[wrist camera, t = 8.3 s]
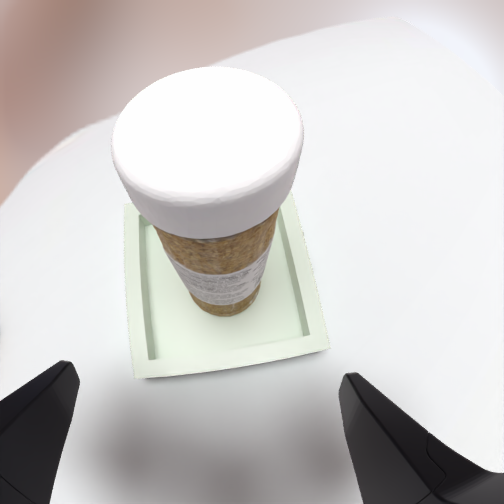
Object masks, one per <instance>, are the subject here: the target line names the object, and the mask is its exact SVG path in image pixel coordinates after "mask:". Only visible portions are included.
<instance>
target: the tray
mask: <svg viewBox="0 0 504 504" xmlns="http://www.w3.org/2000/svg"><path fill="white" fill-rule="evenodd" d="M124 268H125V291H126V307H127V319H128V330H129V340H130V349H131V358H132V365H133V372H134V379H141V378H154V377H166V376H176V375H185V374H194V373H202V372H210V371H217V370H224V369H230V368H237V367H243V366H249V365H255V364H260V363H266V362H271V361H276V360H281V359H286V358H291V357H296V356H300V355H305V354H309V353H313V352H318V351H322V350H326V349H330V343H329V338H328V334H327V329H326V325H325V320H324V316H323V311H322V307H321V303H320V298H319V294H318V290H317V286H316V282H315V278H314V274H313V270H312V266H311V262H310V258H309V254H308V250H307V246H306V242H305V239H304V235H303V231H302V227H301V224H300V220H299V216H298V213H297V209H296V206H295V202H294V199H293V195H292V192H291V190H290V192H289V194H288V196H287V198H286V199H285V201H284V202H283V203H282V204H281V206H280V208H279V211H278V216H277V219H276V229H275V234H274V237H273V241H272V244H271V248H270V251H269V255H268V259H267V262H266V266H265V269H264V273H263V276H262V279H261V284H260V289H259V292H258V295H257V296H256V299H255V301H254V302H253V303H252V304H251V305H250V306H249V307H248V308H247V309H246V310H244V311H242V312H241V313H238V314H235V315H232V316H216V315H212V314H210V313H208V312H205V311H203V310H202V309H201V308H200V307H199V306H198V305H197V304H196V303H195V302H194V301H193V299H192V297H191V295H190V294H189V290H188V289H187V288H186V286H185V285H184V283H183V282H182V280H181V278H180V277H179V275H178V273H177V272H176V270H175V268H174V267H173V265H172V263H171V262H170V260H169V258H168V257H167V255H166V253H165V251H164V249H163V245H162V243H161V241H160V239H159V236H158V234H157V232H156V230H155V228H154V227H153V225H152V224H151V223H150V222H149V221H148V220H147V219H145V218H144V217H143V216H142V215H141V214H140V212H139V211H138V210H137V209H136V207H135V206H134V204H133V203H128V204H125V206H124Z"/></svg>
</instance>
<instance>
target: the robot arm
mask: <svg viewBox="0 0 504 504" xmlns="http://www.w3.org/2000/svg"><path fill="white" fill-rule="evenodd" d="M79 385H80V380H79V377H78V374H77V372H76V370H75V367H74V365H73V364H72V362H69V361H64V360H61V361H59V362H58V363H56V364H55V365H53V366H52V367H50V368H49V369H47V370H46V371H44V372H43V373H41V374H40V375H38V376H37V377H35V378H34V379H32V380H31V381H29V382H28V383H26V384H25V385H23V386H22V387H20V388H19V389H17V390H16V391H14V392H13V393H11V394H10V395H8V396H7V397H5V398H4V399H3V400H1V401H0V504H49V503H50V499H51V494H52V490H53V485H54V481H55V477H56V473H57V469H58V465H59V461H60V458H61V454H62V451H63V447H64V444H65V440H66V437H67V434H68V431H69V427H70V424H71V421H72V417H73V412H74V407H75V403H76V398H77V394H78V389H79ZM339 401H340V407H341V413H342V420H343V426H344V432H345V437H346V441H347V444H348V448H349V451H350V455H351V459H352V462H353V466H354V470H355V473H356V477H357V481H358V485H359V488H360V492H361V496H362V500H363V504H504V473H495V472H491V471H488V470H485V469H483V468H481V467H480V466H478V465H476V464H475V463H473V462H471V461H470V460H468V459H466V458H465V457H463V456H462V455H460V454H458V453H457V452H455V451H454V450H452V449H451V448H449V447H448V446H446V445H445V444H444V443H442V442H441V441H440V440H439V439H437V438H436V437H435V436H433V435H432V434H431V433H428V431H427V430H426V429H425V428H423V427H422V426H421V425H420V424H419V423H417V422H416V421H415V420H414V419H412V418H411V417H410V416H409V415H408V414H406V413H405V412H404V411H403V410H402V409H400V408H399V407H398V406H397V405H396V404H394V403H393V402H392V401H391V400H390V399H388V398H387V397H386V396H385V395H384V394H382V393H381V392H380V391H379V390H378V389H376V388H375V387H374V386H373V385H372V384H370V383H369V382H368V381H367V380H366V379H365V378H363V377H362V376H361V375H360V374H359V373H356V372H354V373H346V374H345V375H344V377H343V380H342V383H341V386H340V389H339Z"/></svg>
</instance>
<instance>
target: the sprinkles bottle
mask: <svg viewBox="0 0 504 504" xmlns="http://www.w3.org/2000/svg"><path fill="white" fill-rule="evenodd" d="M303 139H304V128H303V122H302V118H301V114H300V112H299V110H298V108H297V106H296V104H295V103H294V102H293V100H292V99H291V97H290V96H289V95H288V94H287V93H286V92H285V91H284V90H283V89H281V88H280V87H279V86H278V85H276V84H275V83H273V82H272V81H270V80H268V79H266V78H264V77H262V76H260V75H257V74H255V73H252V72H248V71H245V70H241V69H235V68H228V67H204V68H196V69H190V70H186V71H181V72H178V73H175V74H172V75H169V76H167V77H165V78H162V79H160V80H158V81H156V82H155V83H153V84H151V85H150V86H148V87H147V88H145V89H144V90H143V91H141V92H140V93H139V94H138V95H136V96H135V97H134V98H133V99H132V100H131V101H130V102H129V103H128V105H127V106H126V107H125V108H124V110H123V111H122V113H121V114H120V116H119V118H118V120H117V121H116V124H115V127H114V130H113V133H112V139H111V153H112V159H113V163H114V166H115V168H116V170H117V173H118V175H119V177H120V179H121V181H122V183H123V185H124V187H125V189H126V191H127V193H128V195H129V197H130V199H131V200H132V202H133V204H134V206H135V207H136V209H137V210H138V211H139V212H140V214H141V215H142V216H143V217H144V218H145V219H147V220H148V221H149V222H150V223H151V224H152V225H153V227H154V228H155V230H156V232H157V234H158V236H159V239H160V241H161V243H162V245H163V249H164V251H165V253H166V255H167V257H168V258H169V260H170V262H171V263H172V265H173V267H174V268H175V270H176V272H177V273H178V275H179V277H180V278H181V280H182V282H183V283H184V285H185V286H186V288H187V289H188V290H189V294H190V295H191V297H192V299H193V301H194V302H195V303H196V304H197V305H198V306H199V307H200V308H201V309H202V310H203V311H205V312H208V313H210V314H212V315H216V316H232V315H235V314H238V313H241V312H242V311H244V310H246V309H247V308H248V307H249V306H250V305H251V304H252V303H253V302H254V301H255V299H256V296H257V295H258V292H259V289H260V284H261V279H262V276H263V273H264V269H265V266H266V262H267V259H268V255H269V251H270V248H271V244H272V241H273V237H274V234H275V229H276V219H277V216H278V211H279V208H280V206H281V204H282V203H283V202H284V201H285V199H286V198H287V196H288V194H289V192H290V190H291V187H292V185H293V182H294V179H295V175H296V171H297V168H298V164H299V159H300V155H301V150H302V146H303Z"/></svg>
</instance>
